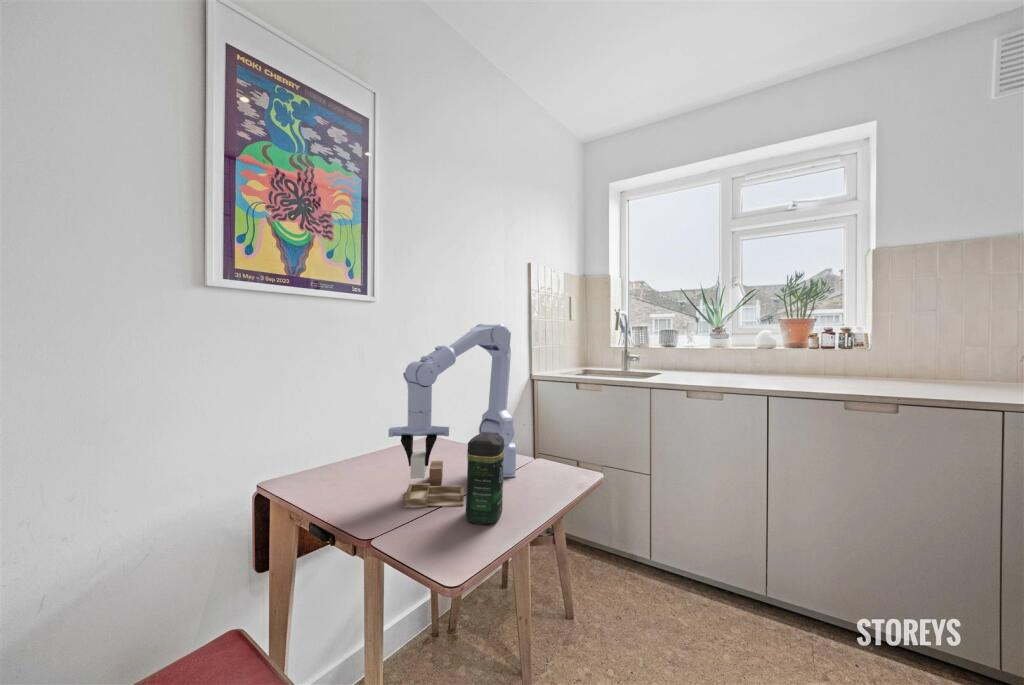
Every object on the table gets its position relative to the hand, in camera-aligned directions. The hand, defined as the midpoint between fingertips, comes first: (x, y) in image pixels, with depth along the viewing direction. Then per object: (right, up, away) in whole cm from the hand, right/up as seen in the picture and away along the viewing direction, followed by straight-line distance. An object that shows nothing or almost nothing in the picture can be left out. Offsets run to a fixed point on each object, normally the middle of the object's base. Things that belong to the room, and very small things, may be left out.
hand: (418, 464), depth 98 cm
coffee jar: (+17, -9, -8) cm, 21 cm away
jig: (+4, -9, +1) cm, 9 cm away
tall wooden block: (+2, -8, +12) cm, 14 cm away
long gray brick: (0, -2, 0) cm, 2 cm away
